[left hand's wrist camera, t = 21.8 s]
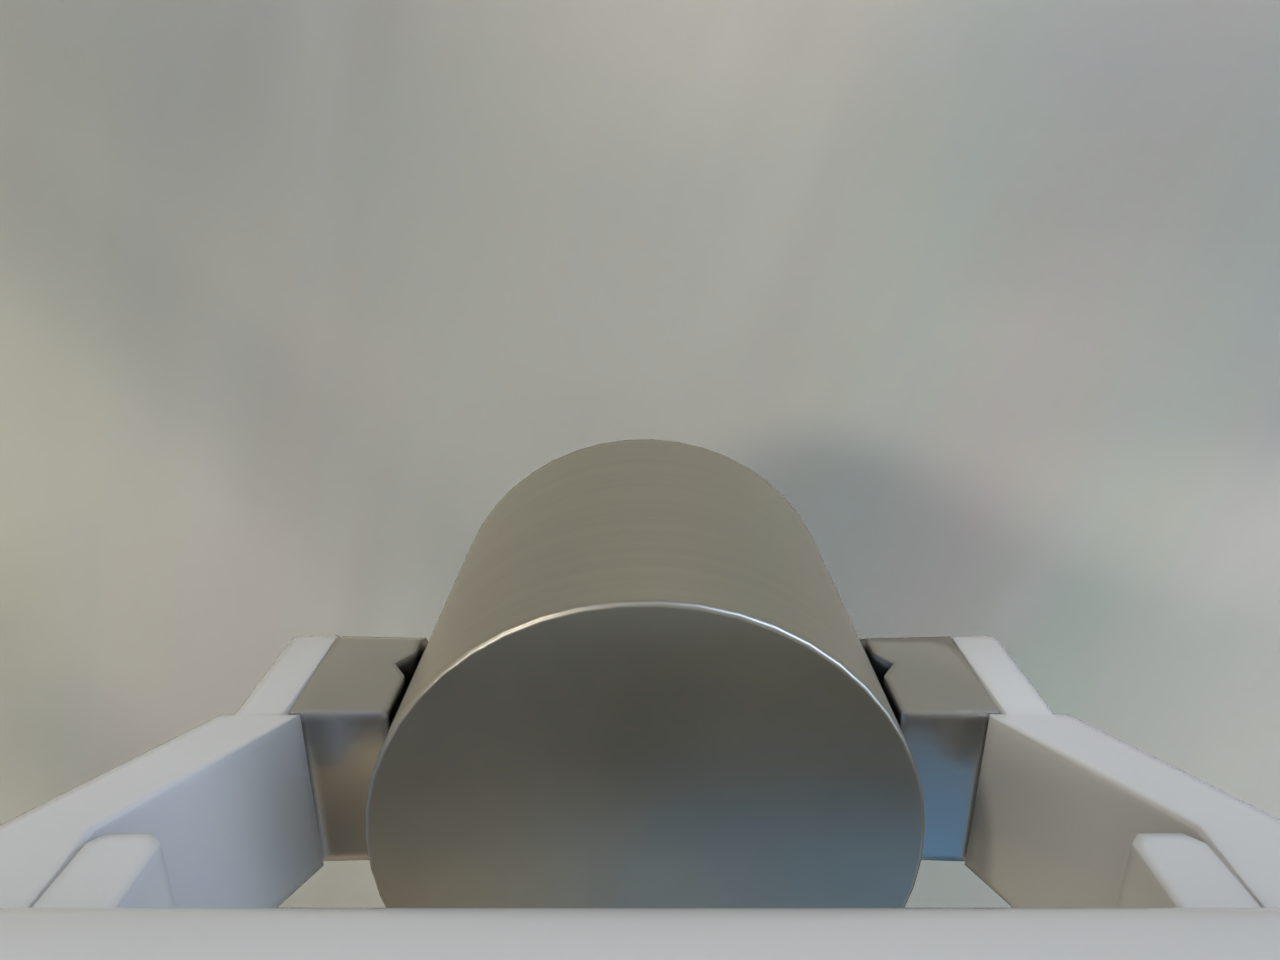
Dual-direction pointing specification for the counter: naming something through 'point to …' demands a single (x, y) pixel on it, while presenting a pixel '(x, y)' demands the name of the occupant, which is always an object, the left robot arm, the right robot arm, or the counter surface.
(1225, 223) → the counter surface
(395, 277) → the counter surface
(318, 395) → the counter surface
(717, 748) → the canister
